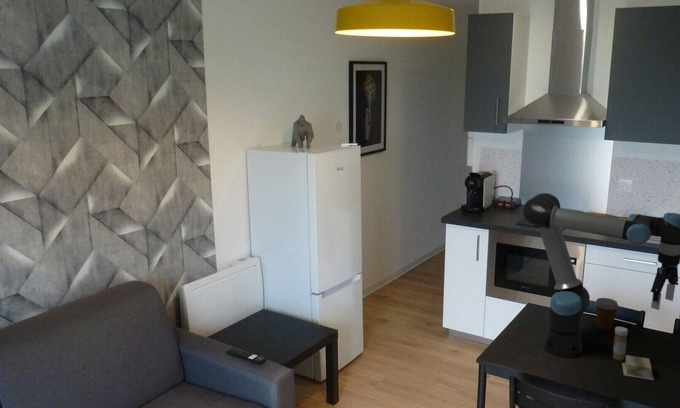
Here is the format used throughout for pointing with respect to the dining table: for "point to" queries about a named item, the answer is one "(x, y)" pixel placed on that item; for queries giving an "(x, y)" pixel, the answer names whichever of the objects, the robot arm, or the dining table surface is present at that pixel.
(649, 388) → the dining table surface
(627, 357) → the beech block
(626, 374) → the plate
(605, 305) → the disposable coffee cup
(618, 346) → the sprinkles bottle
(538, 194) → the robot arm
